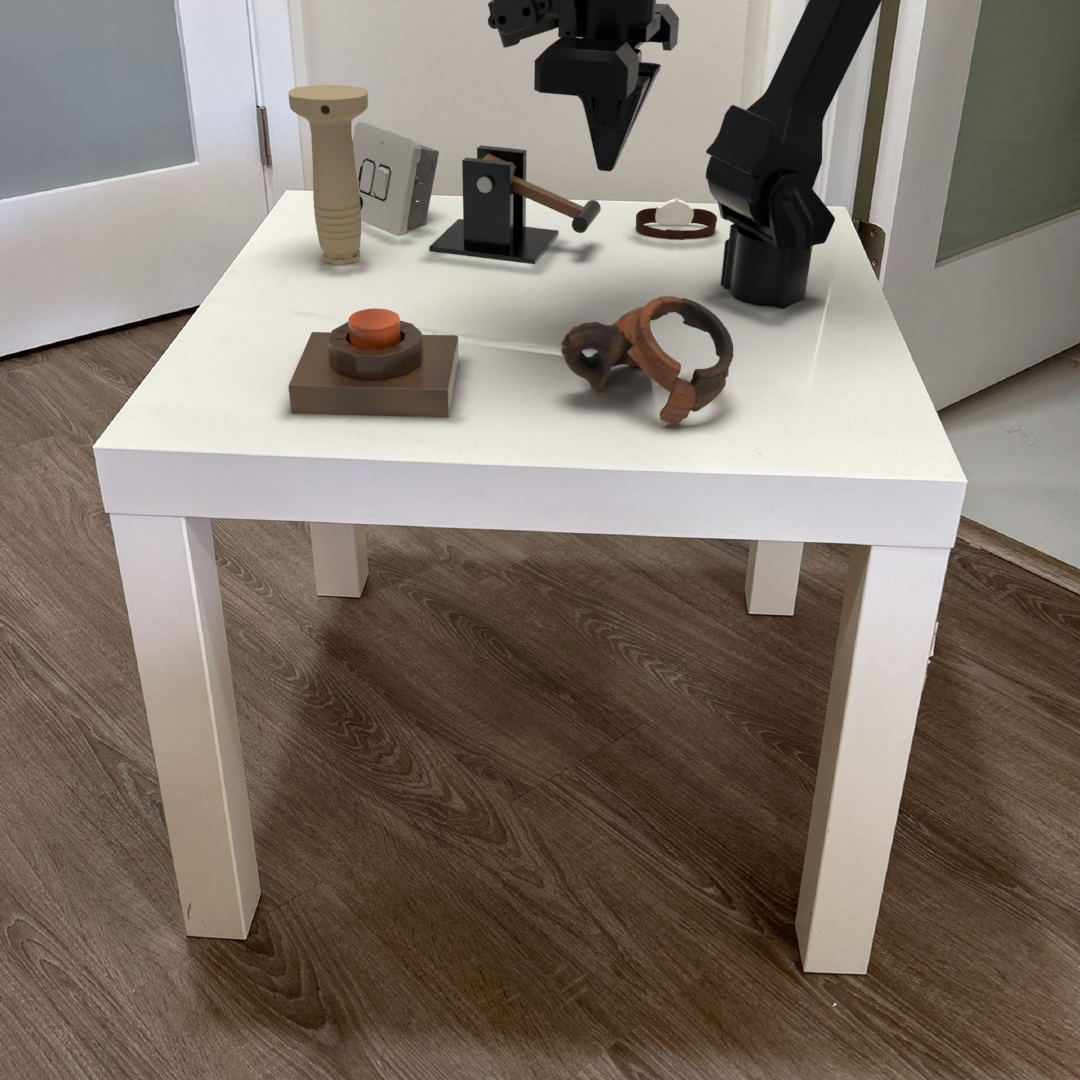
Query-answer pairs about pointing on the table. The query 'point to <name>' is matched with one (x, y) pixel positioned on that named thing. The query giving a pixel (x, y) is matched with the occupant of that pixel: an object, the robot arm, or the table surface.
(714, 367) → the brown curved ring piece
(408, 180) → the electrical switch
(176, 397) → the table surface
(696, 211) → the watch
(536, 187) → the lever
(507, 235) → the bracket
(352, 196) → the handle
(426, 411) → the button block
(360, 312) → the button
